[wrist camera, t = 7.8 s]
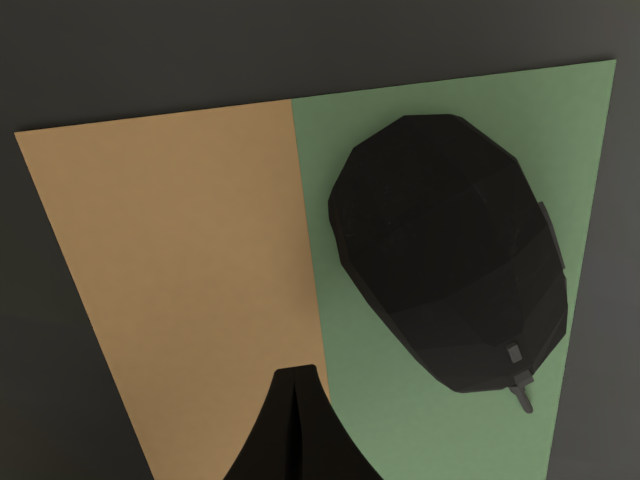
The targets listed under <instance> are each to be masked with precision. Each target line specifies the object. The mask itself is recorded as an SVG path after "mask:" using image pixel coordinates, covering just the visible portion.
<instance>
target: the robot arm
mask: <svg viewBox="0 0 640 480" xmlns="http://www.w3.org/2000/svg"><path fill="white" fill-rule="evenodd" d="M223 480H384V479H383V478H382V477H381V476H380V475H379V473H378V472H377V471H376V470H375V469H374V468H373V467H372V465H371V464H370V463H369V462H368V460H367V459H366V458H365V456H364V455H363V454H362V453H361V451H360V450H359V449H358V447H357V446H356V444H355V443H354V442H353V440H352V439H351V437H350V436H349V434H348V433H347V431H346V430H345V428H344V426H343V425H342V423H341V422H340V420H339V418H338V416H337V415H336V413H335V411H334V409H333V407H332V405H331V404H330V402H329V400H328V398H327V396H326V394H325V391H324V389H323V387H322V384H321V382H320V379H319V376H318V372H317V367H316V366H315V365H314V364H309V365H302V366H295V367H288V368H281V369H277V370H276V371H275V372H274V375H273V378H272V382H271V385H270V388H269V390H268V393H267V396H266V398H265V401H264V403H263V406H262V408H261V410H260V413H259V415H258V417H257V419H256V422H255V424H254V426H253V428H252V430H251V432H250V434H249V436H248V438H247V440H246V442H245V444H244V445H243V447H242V449H241V451H240V453H239V454H238V456H237V458H236V459H235V461H234V463H233V464H232V466H231V468H230V469H229V471H228V472H227V474H226V476H225V477H224V479H223Z"/></svg>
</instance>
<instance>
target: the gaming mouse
mask: <svg viewBox="0 0 640 480" xmlns="http://www.w3.org/2000/svg"><path fill="white" fill-rule="evenodd" d="M328 215H329V221H330V224H331V227H332V230H333V233H334V236H335V239H336V244H337V249H338V253H339V258H340V263H341V265H342V267H343V268H344V270H345V271H346V272H347V274H348V275H349V277H350V278H351V280H352V281H353V283H354V284H355V286H356V287H357V289H358V290H359V291H360V293H361V294H362V296H363V297H364V299H365V300H366V302H367V303H368V305H369V306H370V307H371V308H372V309H373V311H374V312H375V313H376V314H377V315H378V317H379V318H380V319H381V320H382V321H383V323H384V324H385V325H386V326H387V327H388V329H389V330H390V331H391V332H392V333H393V334H394V336H395V337H396V338H397V339H398V340H399V341H400V342H401V344H402V345H403V346H404V347H405V348H406V349H407V351H408V352H409V353H410V354H411V355H412V356H413V357H414V359H415V360H416V361H417V362H418V363H419V364H420V365H421V366H422V367H424V368H425V369H426V370H427V371H428V372H429V373H430V374H431V375H432V376H433V377H434V378H435V379H436V380H437V381H439V382H440V383H442V384H443V385H445V386H446V387H448V388H449V389H451V390H452V391H454V392H458V393H471V392H482V391H493V390H502V389H504V388H506V387H508V388H509V389H510V391H511V392H512V393H513V394H515V395H516V396H517V398H518V400H519V402H520V404H521V406H522V407H523V409H524V411H525V412H526V413H527V414H531V413H532V412H533V407H532V405H531V403H530V401H529V400H528V398H527V396H526V394H525V392H524V391H525V386H526V385H528V384H530V383H532V382H534V379H533V377H532V376H533V375H534V374H535V372H536V371H537V369H538V368H539V367H540V366H541V364H542V363H543V362H544V361H545V359H546V358H547V357H548V356H549V354H550V353H551V352H552V351H553V349H554V348H555V347H556V346H557V344H558V343H559V342H560V341H561V339H562V338H563V337H564V336H565V334H566V329H567V316H568V302H567V279H566V277H565V275H564V273H563V269H565V265H564V261H563V258H562V255H561V251H560V248H559V244H558V241H557V237H556V234H555V231H554V227H553V224H552V221H551V219H550V216H549V214H548V211H547V209H546V207H545V205H544V203H543V201H541V202H539V203H538V202H537V200H536V198H535V196H534V194H533V192H532V190H531V187H530V185H529V183H528V181H527V179H526V177H525V175H524V173H523V171H522V169H521V166H520V164H519V162H518V160H517V158H515V157H514V156H513V155H511V154H510V153H509V152H508V151H506V150H505V149H504V148H502V147H501V146H500V145H498V144H497V143H496V142H494V141H493V140H492V139H490V138H489V137H488V136H486V135H485V134H484V133H482V132H481V131H480V130H478V129H477V128H476V127H474V126H473V125H472V124H471V123H469V122H468V121H467V120H465V119H464V118H463V117H460V116H456V115H453V114H428V115H404V116H402V117H400V118H399V119H397V120H396V121H394V122H393V123H391V124H389V125H388V126H386V127H385V128H383V129H382V130H380V131H378V132H377V133H375V134H374V135H372V136H371V137H369V138H368V139H366V140H364V141H363V142H361V143H360V144H358V145H357V146H355V147H353V149H352V151H351V153H350V155H349V157H348V159H347V161H346V163H345V165H344V167H343V169H342V170H341V172H340V174H339V176H338V178H337V180H336V182H335V184H334V186H333V188H332V190H331V193H330V196H329V199H328Z"/></svg>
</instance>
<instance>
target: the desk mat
mask: <svg viewBox="0 0 640 480" xmlns="http://www.w3.org/2000/svg"><path fill="white" fill-rule="evenodd" d="M615 66H616V60H607V61H598V62H590V63H582V64H574V65H565V66H557V67H549V68H541V69H533V70H524V71H516V72H508V73H500V74H491V75H483V76H475V77H467V78H458V79H450V80H442V81H434V82H425V83H417V84H409V85H401V86H393V87H384V88H376V89H368V90H360V91H351V92H343V93H335V94H327V95H318V96H310V97H302V98H294V99H286V100H277V101H269V102H261V103H253V104H244V105H236V106H228V107H220V108H211V109H203V110H195V111H187V112H178V113H170V114H162V115H154V116H146V117H137V118H129V119H121V120H113V121H104V122H96V123H88V124H80V125H71V126H63V127H55V128H47V129H38V130H30V131H22V132H15V133H14V134H15V137H16V139H17V142H18V144H19V147H20V149H21V151H22V154H23V156H24V159H25V161H26V164H27V166H28V169H29V171H30V174H31V176H32V179H33V181H34V184H35V186H36V188H37V191H38V193H39V196H40V198H41V201H42V203H43V206H44V208H45V211H46V213H47V216H48V218H49V221H50V223H51V225H52V228H53V230H54V233H55V235H56V238H57V240H58V243H59V245H60V248H61V250H62V253H63V255H64V258H65V260H66V262H67V265H68V267H69V270H70V272H71V275H72V277H73V280H74V282H75V285H76V287H77V290H78V292H79V295H80V297H81V299H82V302H83V304H84V307H85V309H86V312H87V314H88V317H89V319H90V322H91V324H92V327H93V329H94V332H95V334H96V336H97V339H98V341H99V344H100V346H101V349H102V351H103V354H104V356H105V359H106V361H107V364H108V366H109V369H110V371H111V373H112V376H113V378H114V381H115V383H116V386H117V388H118V391H119V393H120V396H121V398H122V401H123V403H124V406H125V408H126V410H127V413H128V415H129V418H130V420H131V423H132V425H133V428H134V430H135V433H136V435H137V438H138V440H139V443H140V445H141V447H142V450H143V452H144V455H145V457H146V460H147V462H148V465H149V467H150V470H151V472H152V475H153V477H154V479H155V480H223V479H224V477H225V476H226V474H227V472H228V471H229V469H230V468H231V466H232V464H233V463H234V461H235V459H236V458H237V456H238V454H239V453H240V451H241V449H242V447H243V445H244V444H245V442H246V440H247V438H248V436H249V434H250V432H251V430H252V428H253V426H254V424H255V422H256V419H257V417H258V415H259V413H260V410H261V408H262V406H263V403H264V401H265V398H266V396H267V393H268V390H269V388H270V385H271V382H272V378H273V375H274V372H275V371H276V370H277V369H281V368H288V367H295V366H302V365H309V364H314V365H315V366H316V367H317V372H318V376H319V379H320V382H321V384H322V387H323V389H324V391H325V394H326V396H327V398H328V400H329V402H330V404H331V405H332V407H333V409H334V411H335V413H336V415H337V416H338V418H339V420H340V422H341V423H342V425H343V426H344V428H345V430H346V431H347V433H348V434H349V436H350V437H351V439H352V440H353V442H354V443H355V444H356V446H357V447H358V449H359V450H360V451H361V453H362V454H363V455H364V456H365V458H366V459H367V460H368V462H369V463H370V464H371V465H372V467H373V468H374V469H375V470H376V471H377V472H378V473H379V475H380V476H381V477H382V478H383V479H384V480H546V474H547V468H548V462H549V456H550V451H551V445H552V439H553V433H554V427H555V421H556V415H557V409H558V403H559V397H560V391H561V385H562V380H563V374H564V368H565V362H566V356H567V350H568V344H569V338H570V332H571V326H572V320H573V314H574V308H575V303H576V297H577V291H578V285H579V279H580V273H581V267H582V261H583V255H584V249H585V243H586V237H587V232H588V226H589V220H590V214H591V208H592V202H593V196H594V190H595V184H596V178H597V172H598V166H599V161H600V155H601V149H602V143H603V137H604V131H605V125H606V119H607V113H608V107H609V101H610V95H611V90H612V84H613V78H614V72H615ZM428 114H453V115H456V116H460V117H463V118H464V119H465V120H467V121H468V122H469V123H471V124H472V125H473V126H474V127H476V128H477V129H478V130H480V131H481V132H482V133H484V134H485V135H486V136H488V137H489V138H490V139H492V140H493V141H494V142H496V143H497V144H498V145H500V146H501V147H502V148H504V149H505V150H506V151H508V152H509V153H510V154H511V155H513V156H514V157H515V158H517V160H518V162H519V164H520V166H521V169H522V171H523V173H524V175H525V177H526V179H527V181H528V183H529V185H530V187H531V190H532V192H533V194H534V196H535V198H536V200H537V202H538V203H539V202H541V201H543V203H544V205H545V207H546V209H547V211H548V214H549V216H550V219H551V221H552V224H553V227H554V231H555V234H556V237H557V241H558V244H559V248H560V251H561V255H562V258H563V261H564V265H565V269H563V273H564V275H565V277H566V279H567V302H568V316H567V329H566V334H565V336H564V337H563V338H562V339H561V341H560V342H559V343H558V344H557V346H556V347H555V348H554V349H553V351H552V352H551V353H550V354H549V356H548V357H547V358H546V359H545V361H544V362H543V363H542V364H541V366H540V367H539V368H538V369H537V371H536V372H535V374H534V375H533V376H532V377H533V379H534V382H532V383H530V384H528V385H526V386H525V391H524V392H525V394H526V396H527V398H528V400H529V401H530V403H531V405H532V407H533V412H532V413H531V414H527V413H526V412H525V411H524V409H523V407H522V406H521V404H520V402H519V400H518V398H517V396H516V395H515V394H513V393H512V392H511V391H510V389H509V388H508V387H506V388H504V389H502V390H493V391H482V392H471V393H458V392H454V391H452V390H451V389H449V388H448V387H446V386H445V385H443V384H442V383H440V382H439V381H437V380H436V379H435V378H434V377H433V376H432V375H431V374H430V373H429V372H428V371H427V370H426V369H425V368H424V367H422V366H421V365H420V364H419V363H418V362H417V361H416V360H415V359H414V357H413V356H412V355H411V354H410V353H409V352H408V351H407V349H406V348H405V347H404V346H403V345H402V344H401V342H400V341H399V340H398V339H397V338H396V337H395V336H394V334H393V333H392V332H391V331H390V330H389V329H388V327H387V326H386V325H385V324H384V323H383V321H382V320H381V319H380V318H379V317H378V315H377V314H376V313H375V312H374V311H373V309H372V308H371V307H370V306H369V305H368V303H367V302H366V300H365V299H364V297H363V296H362V294H361V293H360V291H359V290H358V289H357V287H356V286H355V284H354V283H353V281H352V280H351V278H350V277H349V275H348V274H347V272H346V271H345V270H344V268H343V267H342V265H341V263H340V258H339V253H338V249H337V244H336V239H335V236H334V233H333V230H332V227H331V224H330V221H329V215H328V199H329V196H330V193H331V190H332V188H333V186H334V184H335V182H336V180H337V178H338V176H339V174H340V172H341V170H342V169H343V167H344V165H345V163H346V161H347V159H348V157H349V155H350V153H351V151H352V149H353V147H355V146H357V145H358V144H360V143H361V142H363V141H364V140H366V139H368V138H369V137H371V136H372V135H374V134H375V133H377V132H378V131H380V130H382V129H383V128H385V127H386V126H388V125H389V124H391V123H393V122H394V121H396V120H397V119H399V118H400V117H402V116H404V115H428Z"/></svg>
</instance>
